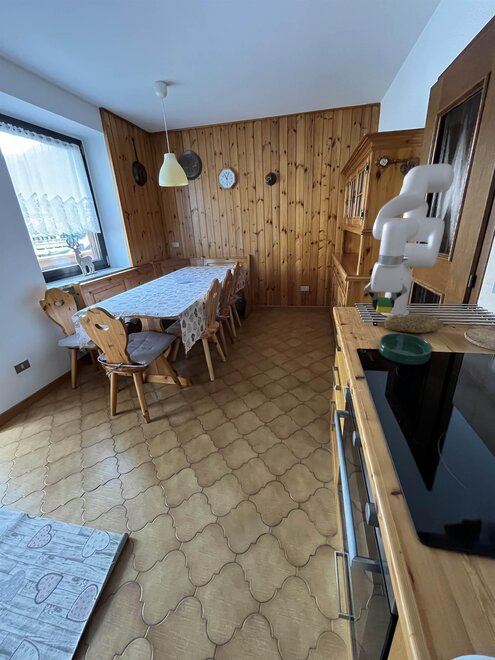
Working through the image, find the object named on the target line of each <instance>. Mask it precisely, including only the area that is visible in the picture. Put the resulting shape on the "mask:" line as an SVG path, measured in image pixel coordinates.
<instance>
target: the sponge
mask: <svg viewBox="0 0 495 660" xmlns="http://www.w3.org/2000/svg"><path fill="white" fill-rule="evenodd" d="M386 317H387V318H385V319H384V322H383V323H384V324H383V325H384V328H385V329H387V330H389V331H396V332H403V333H411V334H412V333H414V334H426V333H430V332H438V331H440V330H442V329H443V328H444V324H445V322H444V321H442V320H440V318H438V317H435V316H431V315H427V314H421V313H409V314H408V315H402V314H397V315H388V316H386Z"/></svg>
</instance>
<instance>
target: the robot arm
mask: <svg viewBox="0 0 495 660" xmlns="http://www.w3.org/2000/svg"><path fill="white" fill-rule="evenodd" d="M454 179H455V171H454V168H453V166H452V165H451V164H449V163H432V164H420V165H417V166H414V167H412V168H411V169H410V170H409V171H408V172H407V174H406V175H405V176H404V179H403V181H402V186H401V188H400V192H399V195H397V196H395V197H394V198H392V199H391V200H389V201H388V202H386V203H385V204H384V205H382V207H381V208H380V210H379V212H378V213H377V215H376V218H375V220H374V224H373V227H372V237H373V238H374V239H375V240H378V241H380V247H379V251H378V252H379V254H378V259H377V261H376V262H375V263H374V265H373V268H372V272H371V277H370V282H368V284H366V285H365V287H364V288H363V291H364V292H365V293H366V294H367V295H369V296H370V297H371V298H372V300H371V301H372V303H371V308H373V311H376V308H377V302H378V300H377V297H379V294H380V293H385V294H384V297H388V298H389V300H390V302H391V303H392V307H391V313H380V314H381V315H383V316H384V317H388V315H397V314H402V315H408V314H410V311H409V310H408V309H407V307H408V301H409V296H410V293H411V289H412V288H411V287H412V282H413V274H412V271H411V270H410V268H417V269H418V268H419V269H431V268H433V267H434V266H435V264H436V262H437V260H438V256H439V252H440V249H441V244H442V241H443V236H444V232H445V221H444V219H442V218H440V217H427V215H428V211H429V204H428V202H427V200H426V199H425V198H426V195H427V194H436V193H437V194H438V193H446V192H448V191H449V190H450V189H451V187H452V185H453V184H454ZM400 215H403V217H398V216H400ZM396 216H397V217H396ZM414 242H415V243H414ZM417 242H418V243H417ZM419 242H420V243H419Z"/></svg>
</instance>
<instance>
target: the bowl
mask: <svg viewBox="0 0 495 660" xmlns="http://www.w3.org/2000/svg"><path fill="white" fill-rule="evenodd" d="M377 347H378V352H379V354H381V356H383V357H384V358H386V359H388V360H390V361H392V362H395V363H398V364H403V365H411V366H412V365H414V366H416V365H422V364H426V363H427V362H429V361H430V360H431V357H432V352H433V346H432V344H431V343H430V342H429V341H428V340H426V339H424V338H422V337H420V336H417V335H414V334H409V333H404V332H403V333H401V332H400V333H399V332H392V333H387V334H384V335H382V336H381V337H380V338H379V341H378V346H377Z"/></svg>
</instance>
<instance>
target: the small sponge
mask: <svg viewBox="0 0 495 660" xmlns="http://www.w3.org/2000/svg"><path fill="white" fill-rule="evenodd" d="M377 300H378V302H377V308H376V310H375V311H376V313H377V314H381V313H391V307H392V303H391V302H390V300H389V298H388V297H385V296H384V297H382V296H377Z"/></svg>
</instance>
